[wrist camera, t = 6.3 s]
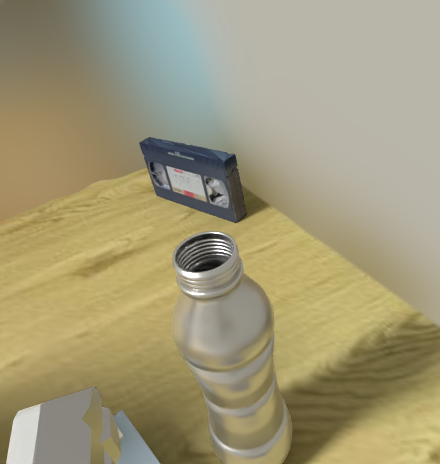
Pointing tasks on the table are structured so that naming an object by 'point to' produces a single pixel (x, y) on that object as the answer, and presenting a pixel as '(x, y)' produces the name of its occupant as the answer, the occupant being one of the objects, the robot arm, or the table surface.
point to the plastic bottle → (230, 350)
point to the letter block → (132, 443)
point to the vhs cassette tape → (195, 177)
